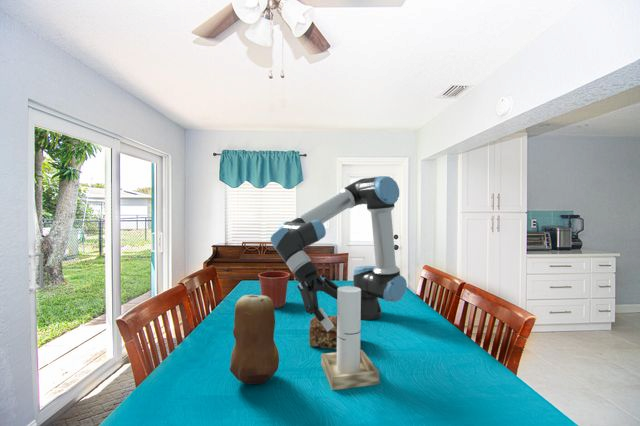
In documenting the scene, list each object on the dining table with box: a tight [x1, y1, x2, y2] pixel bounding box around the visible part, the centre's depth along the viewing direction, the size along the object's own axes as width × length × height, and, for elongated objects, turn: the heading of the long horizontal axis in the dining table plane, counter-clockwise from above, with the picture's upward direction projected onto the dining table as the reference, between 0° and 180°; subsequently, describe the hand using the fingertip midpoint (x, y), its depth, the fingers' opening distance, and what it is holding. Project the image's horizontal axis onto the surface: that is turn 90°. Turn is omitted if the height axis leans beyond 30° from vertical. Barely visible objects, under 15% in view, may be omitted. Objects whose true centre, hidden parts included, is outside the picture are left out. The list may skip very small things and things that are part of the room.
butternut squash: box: [229, 293, 280, 386], centre depth 88 cm, size 14×13×25 cm
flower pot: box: [257, 270, 291, 309], centre depth 157 cm, size 16×16×16 cm
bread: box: [308, 315, 337, 350], centre depth 113 cm, size 19×11×10 cm, turn 81°
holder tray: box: [320, 349, 380, 391], centre depth 92 cm, size 14×14×4 cm
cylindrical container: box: [336, 285, 362, 375], centre depth 92 cm, size 7×7×25 cm
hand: (341, 321), depth 93 cm, fingers open, 13 cm apart
